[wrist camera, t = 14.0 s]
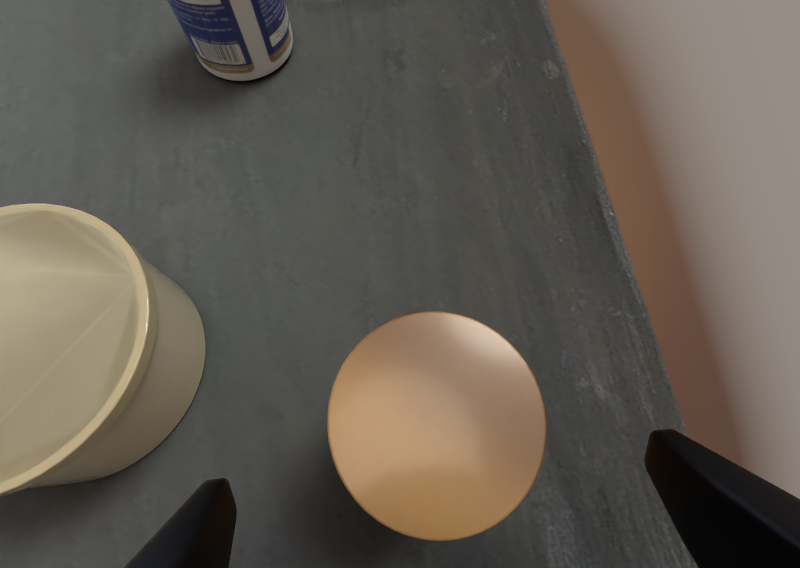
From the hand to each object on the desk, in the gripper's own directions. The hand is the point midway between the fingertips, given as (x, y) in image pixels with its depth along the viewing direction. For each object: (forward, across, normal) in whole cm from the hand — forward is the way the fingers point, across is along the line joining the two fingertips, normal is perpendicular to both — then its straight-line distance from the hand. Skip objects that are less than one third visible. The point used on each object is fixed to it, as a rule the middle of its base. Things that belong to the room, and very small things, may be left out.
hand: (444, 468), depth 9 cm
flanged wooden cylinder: (+7, 0, +5) cm, 8 cm away
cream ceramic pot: (+9, +13, +2) cm, 16 cm away
